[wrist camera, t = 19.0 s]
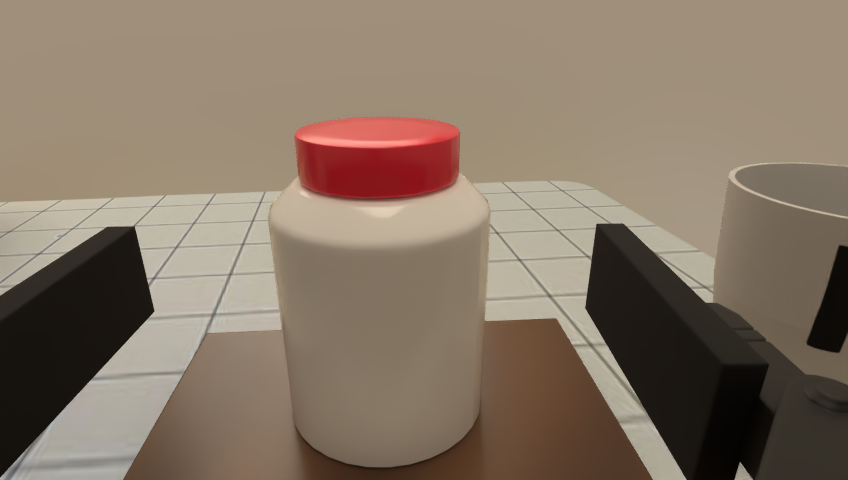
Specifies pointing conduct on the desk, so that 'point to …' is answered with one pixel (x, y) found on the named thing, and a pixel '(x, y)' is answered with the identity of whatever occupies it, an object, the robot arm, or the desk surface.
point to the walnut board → (438, 476)
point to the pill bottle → (381, 289)
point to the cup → (789, 260)
